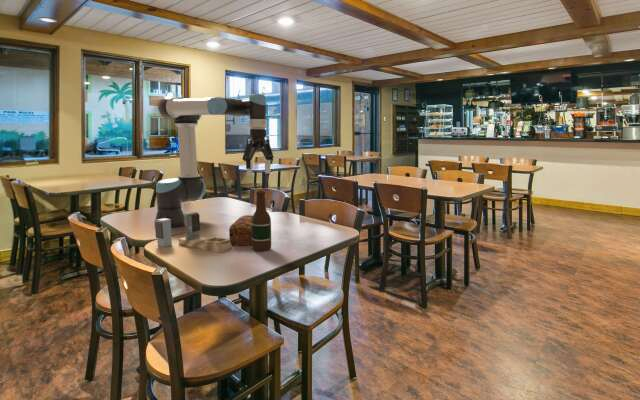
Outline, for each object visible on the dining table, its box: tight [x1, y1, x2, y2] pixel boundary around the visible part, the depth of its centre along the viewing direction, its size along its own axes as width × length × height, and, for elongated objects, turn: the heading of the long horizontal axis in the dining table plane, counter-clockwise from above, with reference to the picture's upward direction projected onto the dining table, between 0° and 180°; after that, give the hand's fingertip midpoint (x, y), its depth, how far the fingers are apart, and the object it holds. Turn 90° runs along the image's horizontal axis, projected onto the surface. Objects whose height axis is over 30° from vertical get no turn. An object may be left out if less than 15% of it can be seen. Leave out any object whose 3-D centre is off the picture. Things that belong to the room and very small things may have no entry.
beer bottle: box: [251, 190, 272, 253], centre depth 161 cm, size 8×8×24 cm
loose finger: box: [154, 218, 173, 247], centre depth 168 cm, size 5×4×11 cm
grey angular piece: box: [178, 211, 232, 253], centre depth 166 cm, size 23×7×14 cm, turn 60°
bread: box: [228, 214, 253, 247], centre depth 176 cm, size 19×11×10 cm, turn 176°
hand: (258, 174), depth 188 cm, fingers open, 13 cm apart
